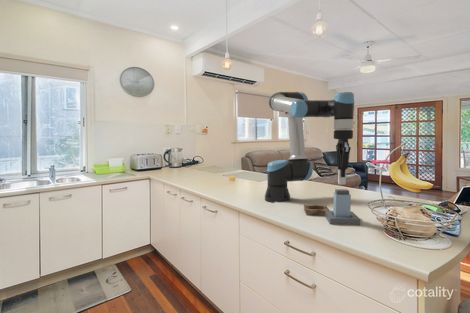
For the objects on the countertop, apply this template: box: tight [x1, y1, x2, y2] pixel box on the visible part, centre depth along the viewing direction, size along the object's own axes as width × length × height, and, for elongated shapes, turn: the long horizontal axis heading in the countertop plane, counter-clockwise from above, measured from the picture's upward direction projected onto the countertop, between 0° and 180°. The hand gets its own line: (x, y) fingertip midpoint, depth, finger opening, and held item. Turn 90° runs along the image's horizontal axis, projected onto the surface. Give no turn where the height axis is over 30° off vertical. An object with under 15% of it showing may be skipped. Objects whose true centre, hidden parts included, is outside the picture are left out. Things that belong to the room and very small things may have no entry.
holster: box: [303, 204, 331, 217], centre depth 118 cm, size 10×8×3 cm
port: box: [324, 210, 361, 226], centre depth 107 cm, size 12×10×3 cm
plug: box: [332, 188, 352, 217], centre depth 107 cm, size 6×4×14 cm, turn 82°
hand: (341, 183), depth 106 cm, fingers closed
